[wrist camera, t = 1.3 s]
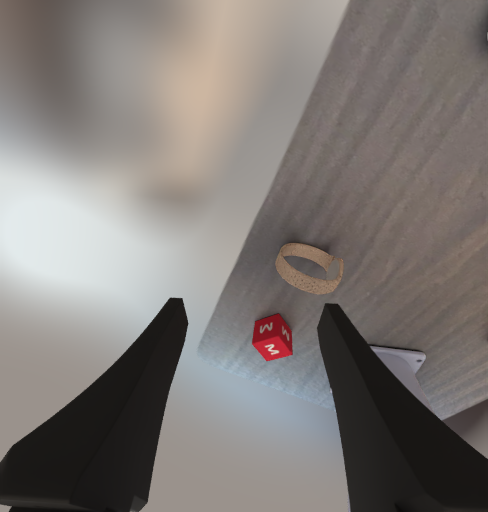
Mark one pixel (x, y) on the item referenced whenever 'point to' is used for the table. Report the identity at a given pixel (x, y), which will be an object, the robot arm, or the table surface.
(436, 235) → the table surface
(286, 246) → the tan wristwatch
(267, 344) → the red letter cube
